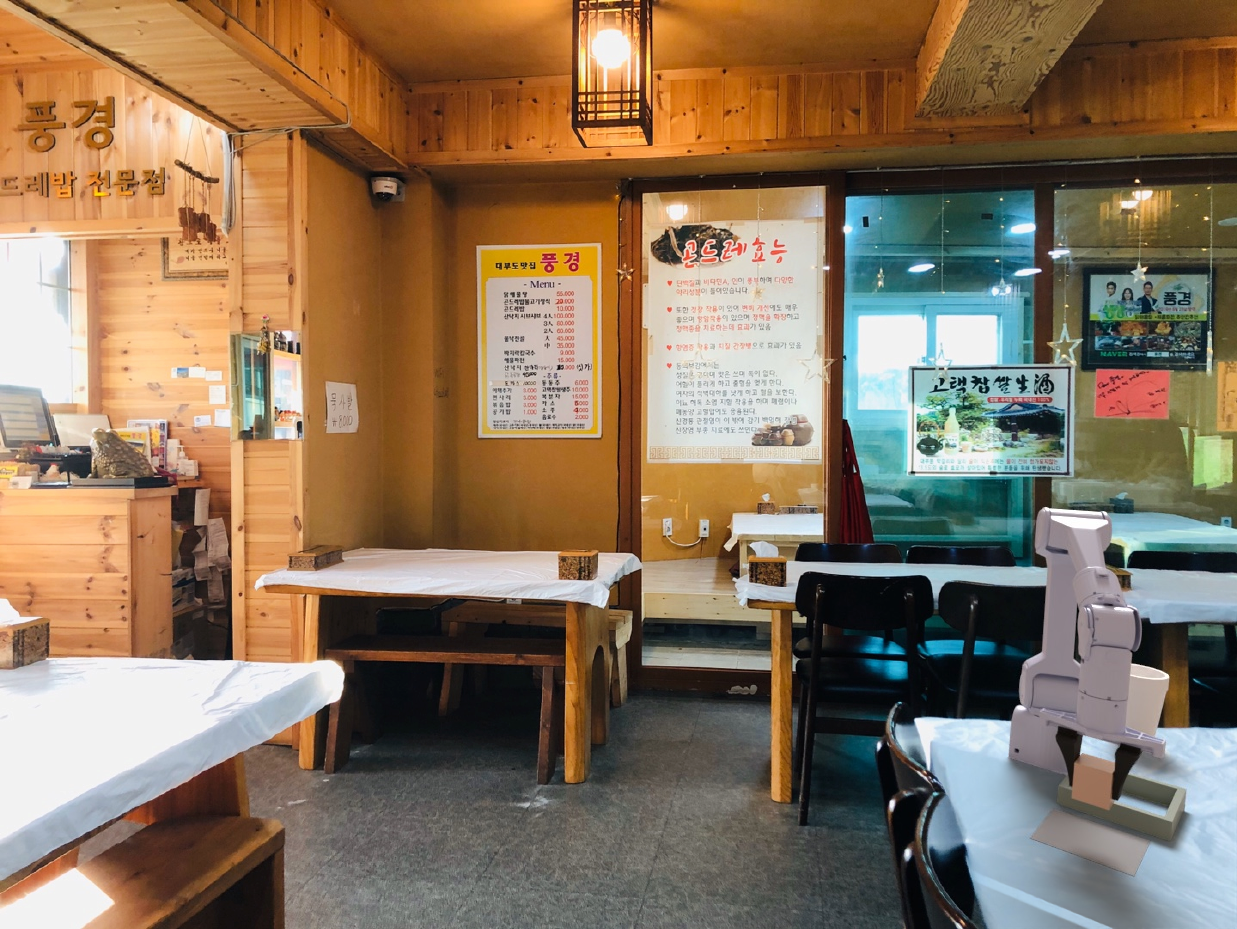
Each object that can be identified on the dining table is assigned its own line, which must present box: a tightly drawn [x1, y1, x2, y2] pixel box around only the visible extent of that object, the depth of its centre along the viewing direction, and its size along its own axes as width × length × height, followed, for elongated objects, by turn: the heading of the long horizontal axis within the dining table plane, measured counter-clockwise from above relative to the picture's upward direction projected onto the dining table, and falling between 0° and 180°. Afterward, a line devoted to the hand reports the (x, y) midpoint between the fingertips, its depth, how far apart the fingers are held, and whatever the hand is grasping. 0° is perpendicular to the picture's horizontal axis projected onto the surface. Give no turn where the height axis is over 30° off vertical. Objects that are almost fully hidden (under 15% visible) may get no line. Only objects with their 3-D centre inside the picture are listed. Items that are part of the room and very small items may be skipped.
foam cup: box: [1126, 663, 1170, 737], centre depth 144 cm, size 10×9×13 cm
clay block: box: [1072, 752, 1116, 810], centre depth 105 cm, size 4×4×5 cm
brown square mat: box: [1029, 807, 1151, 877], centre depth 106 cm, size 12×12×1 cm
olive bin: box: [1056, 772, 1187, 842], centre depth 116 cm, size 14×14×4 cm
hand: (1094, 791), depth 106 cm, fingers closed on clay block, 4 cm apart
